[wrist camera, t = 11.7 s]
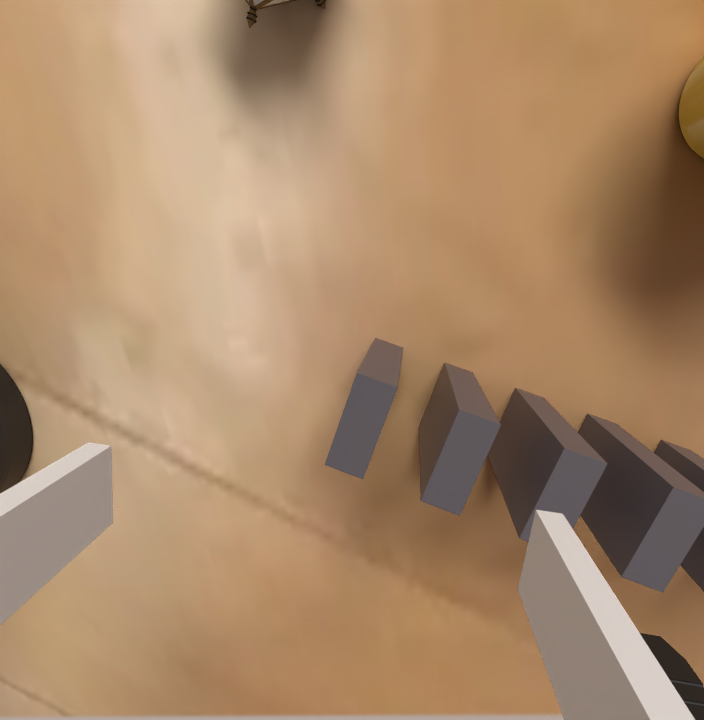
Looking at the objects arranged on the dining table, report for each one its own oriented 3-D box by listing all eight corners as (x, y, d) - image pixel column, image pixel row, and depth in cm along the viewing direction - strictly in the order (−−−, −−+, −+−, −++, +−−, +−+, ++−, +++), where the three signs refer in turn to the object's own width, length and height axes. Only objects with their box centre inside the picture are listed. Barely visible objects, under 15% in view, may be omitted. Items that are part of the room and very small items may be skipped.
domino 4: (555, 477, 30) (621, 576, 21) (587, 413, 29) (673, 487, 19) (583, 487, 30) (663, 592, 21) (616, 424, 29) (718, 503, 19)
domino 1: (352, 402, 31) (324, 464, 22) (375, 337, 30) (357, 372, 20) (378, 412, 31) (362, 479, 21) (403, 347, 30) (397, 387, 20)
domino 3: (486, 452, 31) (519, 538, 21) (515, 387, 29) (564, 447, 20) (513, 462, 31) (559, 553, 21) (544, 398, 29) (607, 463, 20)
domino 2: (418, 427, 31) (420, 500, 21) (444, 362, 30) (459, 409, 20) (445, 437, 31) (459, 515, 21) (472, 372, 30) (501, 424, 20)
